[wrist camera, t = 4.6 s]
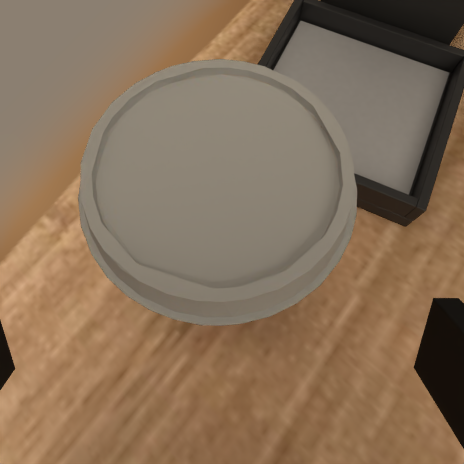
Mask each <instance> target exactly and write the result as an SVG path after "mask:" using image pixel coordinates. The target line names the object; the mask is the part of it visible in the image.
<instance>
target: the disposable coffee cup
mask: <svg viewBox="0 0 464 464" xmlns="http://www.w3.org/2000/svg"><path fill="white" fill-rule="evenodd" d="M78 201H79V211H80V221H81V228H82V230H83V233H84V236H85V238H86V241H87V243H88V246H89V249H90V251H91V254H92V256H93V257H94V259H95V260H96V262H97V263H98V264H99V266H100V267H101V269H102V270H103V272H104V273H105V275H106V276H107V278H109V279H110V280H111V281H112V282H113V283H114V284H115V285H116V286H117V287H118V288H119V289H120V290H121V291H122V292H123V293H124V294H126V295H127V296H128V297H129V298H131V299H133V300H134V301H136V302H138V303H139V304H141V305H143V306H144V307H146V308H147V309H149V310H151V311H153V312H156V313H159V314H161V315H164V316H166V317H169V318H171V319H174V320H179V321H184V322H188V323H193V324H197V325H216V326H223V325H237V324H242V323H246V322H250V321H254V320H258V319H262V318H266V317H270V316H272V315H274V314H276V313H278V312H280V311H282V310H284V309H286V308H288V307H290V306H292V305H294V304H296V303H298V302H299V301H300V300H302V299H303V298H304V297H306V296H307V295H308V294H309V293H311V292H312V291H313V290H315V289H316V288H317V287H319V286H320V285H321V284H322V282H323V281H324V280H325V279H326V277H327V276H328V275H329V274H330V272H331V271H332V270H333V269H334V267H335V266H336V265H337V264H338V262H339V261H340V259H341V257H342V255H343V253H344V251H345V249H346V247H347V245H348V242H349V240H350V238H351V235H352V231H353V227H354V222H355V218H356V210H357V187H356V182H355V177H354V163H353V159H352V156H351V152H350V148H349V144H348V141H347V139H346V137H345V135H344V133H343V130H342V128H341V126H340V125H339V123H338V122H337V120H336V119H335V117H334V116H333V114H332V113H331V111H330V110H329V109H328V108H327V107H326V106H325V105H324V104H323V103H322V101H321V100H320V99H319V98H318V97H317V96H316V95H314V94H313V93H312V92H310V91H309V90H308V89H307V88H305V87H304V86H303V85H301V84H300V83H299V82H297V81H295V80H293V79H291V78H288V77H286V76H284V75H282V74H280V73H278V72H276V71H273V70H271V69H269V68H267V67H265V66H261V65H257V64H252V63H248V62H244V61H235V60H225V59H216V60H204V61H192V62H188V63H183V64H179V65H175V66H171V67H169V68H166V69H163V70H161V71H158V72H156V73H154V74H152V75H150V76H148V77H146V78H144V79H142V80H141V81H139V82H137V83H135V84H134V85H133V86H131V87H130V88H129V89H128V90H126V91H125V92H124V93H123V94H122V95H120V96H119V97H118V98H117V99H116V100H114V101H113V102H112V103H111V105H110V106H109V107H108V109H107V110H106V111H105V113H104V114H103V116H102V117H101V118H100V119H99V121H98V122H97V124H96V125H95V126H94V128H93V129H92V132H91V135H90V138H89V141H88V143H87V146H86V149H85V152H84V155H83V158H82V161H81V182H80V190H79V197H78Z"/></svg>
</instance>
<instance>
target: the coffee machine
mask: <svg viewBox="0 0 464 464" xmlns="http://www.w3.org/2000/svg"><path fill="white" fill-rule="evenodd" d="M463 24H464V0H321V1H318V0H294V2H293V4H292V5H291V7H290V9H289V11H288V12H287V14H286V16H285V18H284V19H283V21H282V23H281V25H280V26H279V28H278V30H277V32H276V33H275V35H274V37H273V39H272V40H271V42H270V44H269V46H268V47H267V49H266V51H265V53H264V54H263V56H262V58H261V60H260V61H259V63H258V65H261V66H265V67H267V68H269V69H271V70H273V71H276V72H278V73H280V74H282V75H284V76H286V77H288V78H291V79H293V80H295V81H297V82H299V83H300V84H301V85H303V86H304V87H305V88H307V89H308V90H309V91H310V92H312V93H313V94H314V95H316V96H317V97H318V98H319V99H320V100H321V101H322V103H323V104H324V105H325V106H326V107H327V108H328V109H329V110H330V111H331V113H332V114H333V116H334V117H335V119H336V120H337V122H338V123H339V125H340V126H341V128H342V130H343V133H344V135H345V137H346V139H347V141H348V144H349V148H350V152H351V156H352V159H353V163H354V177H355V182H356V187H357V207H360V208H362V209H365V210H367V211H369V212H372V213H374V214H377V215H379V216H381V217H384V218H386V219H389V220H391V221H394V222H396V223H398V224H401V225H403V226H407V225H408V224H410V223H411V222H412V221H414V220H415V219H416V218H417V217H419V216H420V215H421V214H422V213H424V212H425V211H426V209H427V206H428V203H429V199H430V196H431V193H432V190H433V186H434V183H435V180H436V177H437V173H438V170H439V167H440V164H441V161H442V157H443V154H444V151H445V148H446V144H447V141H448V138H449V135H450V131H451V128H452V125H453V122H454V119H455V115H456V112H457V109H458V106H459V102H460V99H461V96H462V93H463V89H464V50H462V49H459V48H456V47H453V46H450V45H449V44H450V43H451V42H452V40H453V39H454V37H455V36H456V34H457V33H458V31H459V30H460V28H461V27H462V26H463Z"/></svg>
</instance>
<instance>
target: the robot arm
mask: <svg viewBox="0 0 464 464" xmlns="http://www.w3.org/2000/svg"><path fill="white" fill-rule="evenodd" d="M414 369H415V370H416V372H417V374H418V375H419V377H420V378H421V380H422V382H423V383H424V385H425V387H426V388H427V390H428V391H429V393H430V395H431V396H432V398H433V400H434V401H435V403H436V404H437V406H438V408H439V409H440V411H441V413H442V414H443V416H444V418H445V419H446V421H447V422H448V424H449V426H450V427H451V429H452V431H453V432H454V434H455V435H456V437H457V439H458V440H459V442H460V444H461V445H462V447H463V448H464V303H463V302H462V301H461V300H460V299H459V298H433V301H432V305H431V308H430V312H429V315H428V319H427V322H426V326H425V329H424V333H423V337H422V340H421V344H420V347H419V351H418V354H417V358H416V361H415V365H414ZM14 370H15V366H14V363H13V360H12V356H11V353H10V350H9V347H8V343H7V340H6V337H5V334H4V330H3V327H2V324H1V321H0V390H1V389H2V387H3V386H4V384H5V383H6V381H7V380H8V378H9V377H10V375H11V374H12V373H13V371H14Z"/></svg>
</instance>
